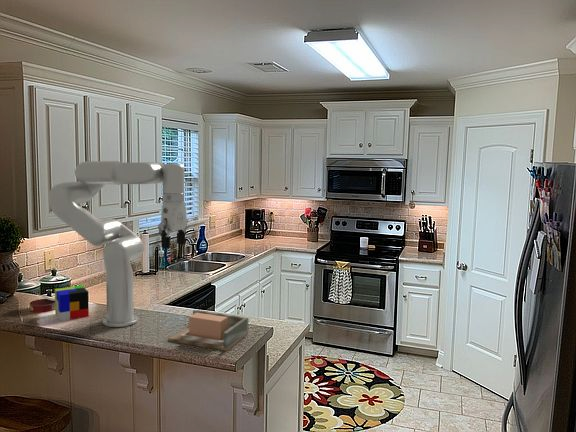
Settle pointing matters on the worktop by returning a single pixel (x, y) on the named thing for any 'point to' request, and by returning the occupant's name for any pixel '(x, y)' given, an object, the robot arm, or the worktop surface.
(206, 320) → the block
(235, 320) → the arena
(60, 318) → the puzzle toy
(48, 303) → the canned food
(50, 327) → the worktop surface
